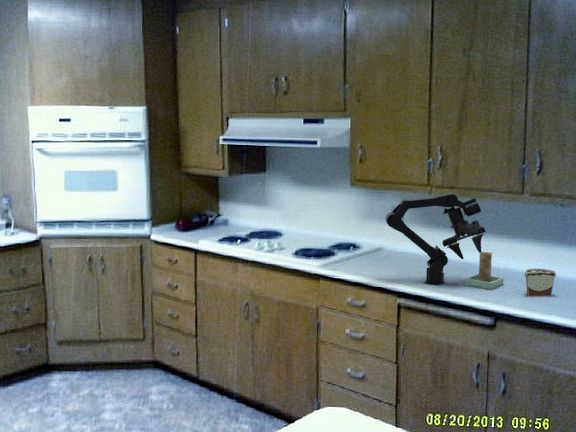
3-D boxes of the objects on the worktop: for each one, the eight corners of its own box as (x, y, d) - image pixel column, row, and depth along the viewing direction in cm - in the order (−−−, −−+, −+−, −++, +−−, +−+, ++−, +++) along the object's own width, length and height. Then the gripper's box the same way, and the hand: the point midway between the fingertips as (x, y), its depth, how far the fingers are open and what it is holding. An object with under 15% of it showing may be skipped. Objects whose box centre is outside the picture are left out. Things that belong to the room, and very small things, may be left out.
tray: (465, 285, 273) (465, 278, 272) (477, 280, 282) (477, 273, 281) (491, 290, 265) (491, 283, 265) (503, 284, 274) (503, 278, 274)
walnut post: (478, 284, 272) (479, 253, 270) (479, 281, 276) (480, 251, 274) (489, 285, 270) (491, 254, 268) (490, 282, 275) (491, 252, 273)
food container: (548, 292, 262) (549, 268, 261) (555, 296, 256) (556, 271, 255) (518, 292, 262) (519, 268, 260) (524, 296, 256) (525, 271, 254)
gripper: (449, 222, 262) (463, 259, 260) (486, 210, 268) (500, 245, 266) (435, 228, 272) (449, 263, 270) (471, 216, 279) (485, 250, 277)
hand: (471, 255), depth 271 cm, fingers open, 9 cm apart
